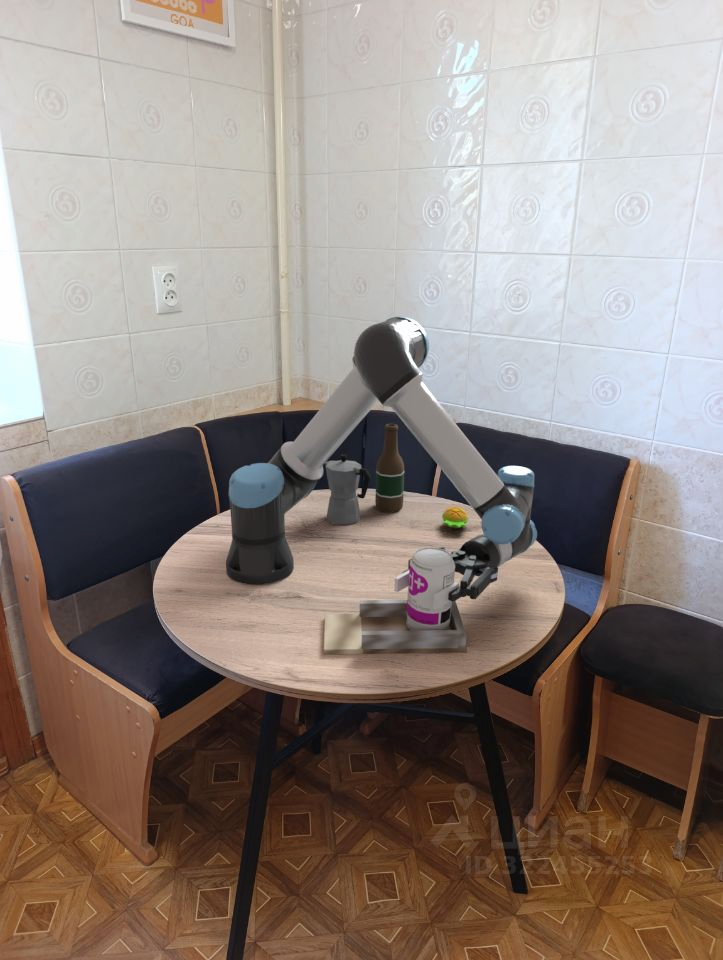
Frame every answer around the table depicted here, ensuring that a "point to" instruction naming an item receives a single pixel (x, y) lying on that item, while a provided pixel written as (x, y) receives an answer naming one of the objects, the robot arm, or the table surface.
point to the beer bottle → (390, 474)
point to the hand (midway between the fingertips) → (415, 593)
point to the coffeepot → (345, 490)
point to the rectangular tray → (389, 631)
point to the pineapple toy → (455, 517)
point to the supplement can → (429, 589)
